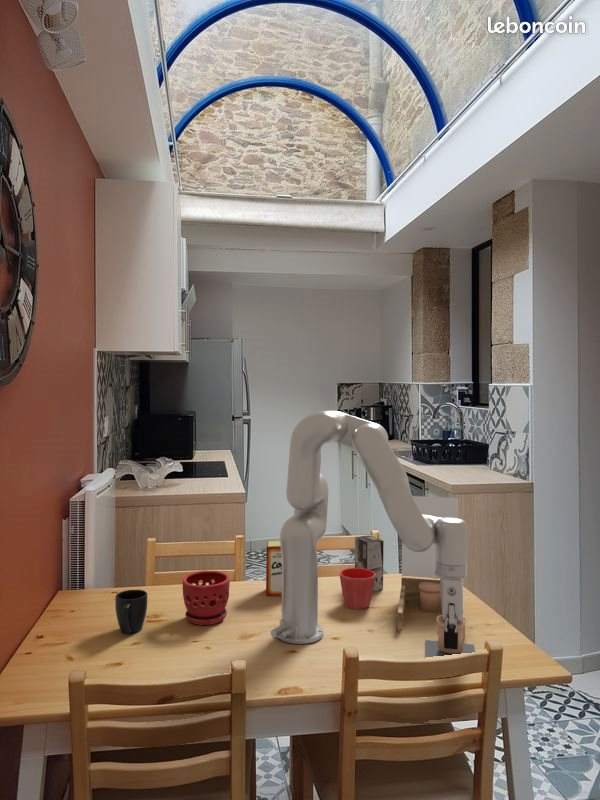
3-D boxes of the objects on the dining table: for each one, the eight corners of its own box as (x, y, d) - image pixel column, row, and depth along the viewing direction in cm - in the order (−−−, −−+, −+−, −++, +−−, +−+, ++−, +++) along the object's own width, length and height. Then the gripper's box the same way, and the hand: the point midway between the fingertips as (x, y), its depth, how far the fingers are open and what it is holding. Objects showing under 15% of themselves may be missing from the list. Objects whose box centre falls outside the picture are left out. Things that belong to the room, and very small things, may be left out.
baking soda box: (295, 589, 189) (296, 540, 189) (295, 596, 183) (296, 545, 183) (266, 589, 189) (267, 540, 189) (265, 596, 183) (266, 545, 183)
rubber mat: (478, 667, 135) (478, 665, 135) (425, 661, 137) (425, 660, 137) (473, 646, 146) (473, 644, 146) (425, 641, 149) (425, 640, 149)
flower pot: (377, 611, 170) (377, 578, 170) (340, 610, 170) (340, 577, 170) (373, 599, 181) (373, 568, 181) (338, 598, 181) (338, 567, 181)
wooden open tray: (464, 637, 152) (464, 610, 152) (397, 631, 155) (397, 605, 155) (459, 604, 176) (459, 581, 176) (401, 599, 180) (401, 577, 180)
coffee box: (384, 589, 190) (384, 540, 190) (366, 592, 187) (367, 542, 187) (370, 581, 198) (371, 534, 198) (353, 583, 196) (354, 536, 196)
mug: (107, 642, 147) (107, 604, 147) (119, 624, 159) (120, 589, 159) (139, 642, 147) (140, 604, 147) (150, 623, 159) (150, 589, 159)
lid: (458, 498, 184) (458, 498, 186) (403, 495, 188) (403, 496, 190) (459, 579, 177) (458, 579, 178) (401, 575, 180) (401, 575, 182)
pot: (435, 614, 168) (436, 590, 168) (414, 609, 172) (414, 585, 172) (445, 608, 173) (445, 584, 173) (424, 603, 177) (424, 580, 177)
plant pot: (176, 615, 165) (177, 573, 165) (220, 608, 171) (220, 568, 171) (189, 632, 154) (190, 587, 154) (236, 623, 160) (236, 580, 160)
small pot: (458, 656, 137) (458, 627, 137) (431, 649, 141) (431, 620, 141) (469, 647, 142) (469, 618, 142) (442, 640, 147) (443, 612, 146)
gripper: (469, 581, 133) (468, 659, 132) (464, 560, 149) (463, 630, 149) (435, 578, 134) (435, 655, 134) (434, 558, 151) (434, 627, 151)
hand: (450, 641), depth 142 cm, fingers closed on small pot, 6 cm apart
